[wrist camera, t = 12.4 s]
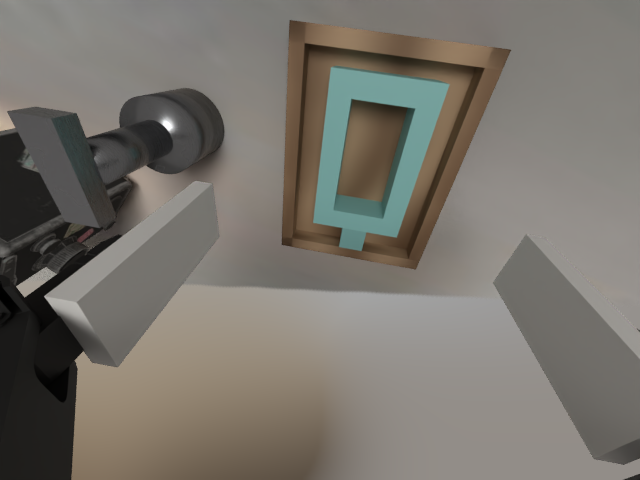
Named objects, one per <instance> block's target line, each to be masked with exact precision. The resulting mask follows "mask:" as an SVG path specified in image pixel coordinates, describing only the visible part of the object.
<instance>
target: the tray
mask: <svg viewBox="0 0 640 480" xmlns="http://www.w3.org/2000/svg"><path fill="white" fill-rule="evenodd" d="M510 51H511V50H509V49H502V48H494V47H487V46H479V45H472V44H464V43H457V42H449V41H442V40H434V39H427V38H419V37H412V36H404V35H397V34H389V33H382V32H374V31H367V30H359V29H352V28H345V27H337V26H330V25H322V24H315V23H307V22H300V21H292V20H290V24H289V52H288V81H287V110H286V138H285V167H284V195H283V224H282V245H286V246H291V247H297V248H302V249H308V250H313V251H318V252H324V253H329V254H335V255H340V256H346V257H351V258H356V259H362V260H367V261H373V262H378V263H384V264H389V265H395V266H400V267H405V268H411V269H416V268H417V265H418V263H419V261H420V258H421V256H422V254H423V251H424V249H425V247H426V244H427V242H428V240H429V238H430V235H431V233H432V231H433V228H434V226H435V224H436V221H437V219H438V217H439V215H440V212H441V210H442V208H443V205H444V203H445V201H446V198H447V196H448V194H449V192H450V189H451V187H452V185H453V182H454V180H455V178H456V175H457V173H458V171H459V168H460V166H461V164H462V162H463V159H464V157H465V155H466V152H467V150H468V148H469V145H470V143H471V141H472V139H473V136H474V134H475V132H476V129H477V127H478V125H479V122H480V120H481V118H482V116H483V113H484V111H485V109H486V106H487V104H488V102H489V99H490V97H491V95H492V92H493V90H494V88H495V86H496V83H497V81H498V79H499V76H500V74H501V72H502V69H503V67H504V65H505V63H506V60H507V58H508V56H509V53H510ZM333 66H343V67H350V68H357V69H364V70H371V71H378V72H385V73H392V74H399V75H406V76H413V77H420V78H428V79H435V80H440V81H442V82H445V83H448V84H450V85H449V88H448V91H447V93H446V96H445V99H444V102H443V105H442V108H441V111H440V114H439V117H438V119H437V122H436V125H435V128H434V131H433V134H432V137H431V140H430V143H429V146H428V148H427V151H426V154H425V157H424V160H423V163H422V166H421V169H420V172H419V174H418V177H417V180H416V183H415V186H414V189H413V192H412V195H411V198H410V201H409V203H408V206H407V209H406V212H405V215H404V218H403V221H402V224H401V227H400V229H399V232H398V235H397V238H396V237H390V236H385V235H379V234H373V233H368V232H366V236H365V240H364V244H363V248H362V251H358V250H353V249H347V248H342V247H339V243H340V237H341V231H342V228H340V227H334V226H328V225H323V224H317V223H313V219H314V211H315V202H316V193H317V184H318V176H319V167H320V158H321V150H322V141H323V132H324V123H325V115H326V106H327V97H328V89H329V80H330V71H331V67H333ZM407 109H408V107H401V106H395V105H388V104H381V103H375V102H368V101H361V100H355V99H353V100H352V106H351V112H350V118H349V124H348V130H347V137H346V143H345V149H344V155H343V161H342V167H341V173H340V179H339V185H338V191H337V194H338V195H344V196H350V197H356V198H362V199H368V200H374V201H379V202H382V199H383V195H384V192H385V188H386V184H387V181H388V177H389V174H390V170H391V166H392V163H393V159H394V156H395V152H396V148H397V145H398V141H399V138H400V134H401V130H402V127H403V123H404V120H405V116H406V112H407Z"/></svg>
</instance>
